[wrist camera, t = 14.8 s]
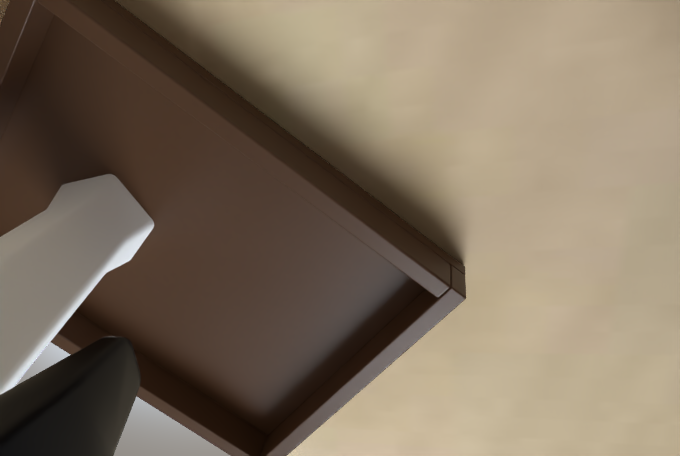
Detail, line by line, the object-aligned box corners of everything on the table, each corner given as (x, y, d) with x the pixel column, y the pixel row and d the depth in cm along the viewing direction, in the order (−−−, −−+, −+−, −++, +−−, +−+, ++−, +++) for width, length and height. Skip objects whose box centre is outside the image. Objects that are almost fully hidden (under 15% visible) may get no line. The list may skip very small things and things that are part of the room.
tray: (465, 266, 22) (467, 298, 20) (275, 440, 28) (263, 476, 26) (62, -40, 19) (22, -35, 17) (-50, 230, 25) (-88, 255, 23)
